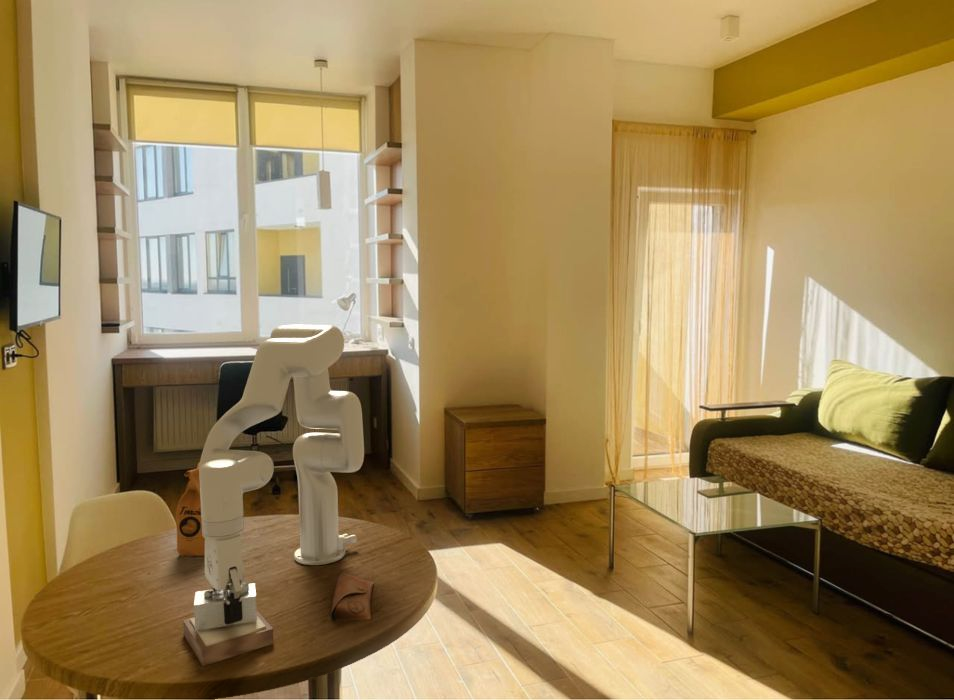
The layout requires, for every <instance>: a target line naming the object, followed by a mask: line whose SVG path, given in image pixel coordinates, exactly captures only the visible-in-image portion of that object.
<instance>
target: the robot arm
mask: <svg viewBox="0 0 954 700" xmlns="http://www.w3.org/2000/svg"><path fill="white" fill-rule="evenodd" d="M344 338H345V337H344V335H343V332H342V331H341V329H340V328H338V327H337V326H334V325H329V324H287V325H285V324H284V325H279V326H276V327H275V328H273V329H272V331H271V333H270V338H268V339H266V340H265V339H264V340H263V341H262V342H261V343H260V344H259V345H258V347H257V349H256V351H255V352H256V353H255V355H254V359H253V362H252V364H251V367H250V370H249V371H250V372H249V374H248V377H247V381H246V384H245V387H244V390H243V394H242V397H241V398H240V400H239V401H238V402H237V403H236V404H234V405H233V406H232V407H231V408H230V409H229V410H227V411H226V412H225V413H224V414H223V415H222V416H220V418H219V419H218V420H217V422H215V423H214V425H213V426H212V428H211V430H210V431H209V433H208V435H207V437H206V440H205V443H204V446H203V450H202V452H201V456H200V460H199V462H200V465H199V478H200V498H201V517H202V535H203V537H204V538H205V556H204V575H205V578H206V579H207V581H208V582H209V584H210V585H211V589H216V590H217V591H219V592H220V591H221V590H223V591H224V597H225V604H224V622H225V624H226V625H228V624H231V623H235V622H238V621H241V620H242V597H241V595H242V594H241V592H242V588H241V585H242V584H243V582H244V561H243V551H242V550H243V548H242V541H241V534H243V533H244V532H245V520H244V519H245V517H244V500H243V499H244V497H243V495H244V493H246V492H250V491H255V490H258V489H261V488H263V487H264V486H266V485H267V484H268V483H269V482H270V480H271V478H272V477H273V474H274V471H275V470H274V466H275V465H274V462H273V459H272V457H270V455H268V454H267V453H265V452H262V451H255V450H243V449H230V448H231V445H232V443H233V441H235V440H236V438H237V437H238V436H239V435H240V434H241V433H242V432H244V431H245V430H247V429H249V428H250V427H253V426H255V425H257V424H259V423H261V422H264V421H266V420H269V419H272V418H273V417H275V416H277V415H279V414H280V413H281V412H282V411H283V407H284V402H285V400H286V395H287V392H288V389H289V385H290V381H291V378H293V387H294V401H295V412H296V419H297V422H298V424H299V425H300V426H301V427H303V428H306V429H314V430H315V429H316V430H336V431H338V432H339V433H337V432H336V433H335V432H334V433H333V432H321V431H320V432H317V431H316V432H315V431H314V432H306V433H303V434H301V435H299V436H298V437H297V438H296V439H295V441H294V443H293V446H292V457H293V463H294V466H295V471H296V476H297V489H298V493H297V494H298V515H299V517H298V519H299V520H298V521H299V541H300V542H299V544H300V546H299V548H297V549H296V550H295V551H294V553H293V555H294V556H293V558H294V560H295V561H296V562H297V563H299V564H302V565H306V566H321V565H328V564H331V563H335V562H338V561H339V560H341V559H343V558H344V557H345V555H346V548H345V546H346V545H347V544H353V543H356V542H357V541H358V538H357V535H356V534H350V535H348V534H347V533H344V534H341V535H340V533H339V507H338V506H339V505H338V502H339V501H338V485H337V482H336V480H335V478H334V476H333V475H332V473H345V474H346V473H355V472H357V471H359V470H360V469H361V467H362V465H363V463H364V458H365V443H364V441H365V440H364V427H363V426H364V424H363V411H362V404H361V401H360V399H359V397H358V396H357V395H356V394H355V393H354V392H352V391H347V390H333V389H332V388H331V386H330V385H331V383H330V373H329V368H330V367H331V366H332V365H334V364H335V363H336V362H337V361H338V360H339V359H340V357H341V356H342V354H343V352H344V348H345V339H344ZM229 584H230V585H231V584H232V586H230V585H229ZM231 589H233V590H232V592H233V593H230V596H229V594H228V590H231Z"/></svg>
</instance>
